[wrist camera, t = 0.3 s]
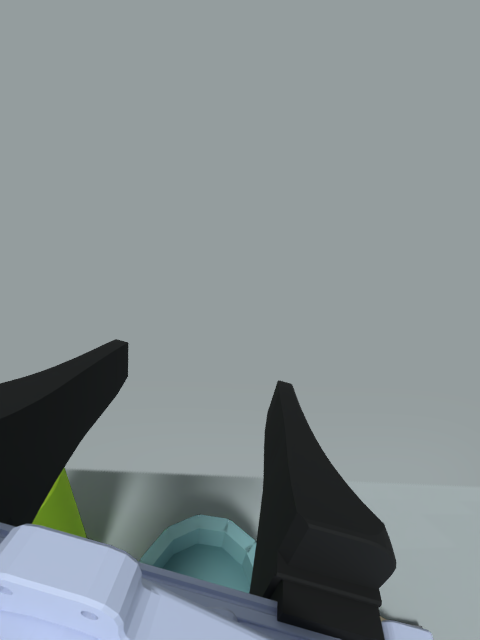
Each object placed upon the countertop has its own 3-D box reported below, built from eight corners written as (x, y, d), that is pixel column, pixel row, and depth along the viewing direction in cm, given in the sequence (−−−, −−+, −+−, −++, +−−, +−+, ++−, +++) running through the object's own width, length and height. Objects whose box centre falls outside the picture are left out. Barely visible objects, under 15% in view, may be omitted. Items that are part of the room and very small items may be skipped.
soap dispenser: (-24, 589, 22) (-203, 394, 11) (76, 520, 26) (13, 334, 16) (-5, 679, 18) (-234, 519, 8) (106, 582, 23) (51, 399, 12)
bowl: (263, 733, 18) (273, 725, 16) (104, 707, 18) (96, 696, 16) (265, 544, 26) (272, 525, 24) (157, 527, 26) (155, 507, 24)
